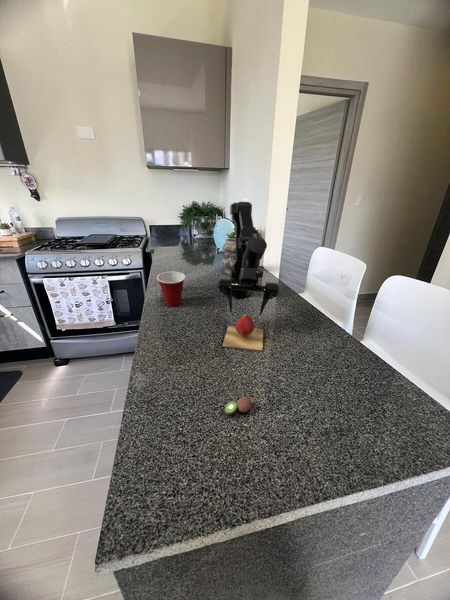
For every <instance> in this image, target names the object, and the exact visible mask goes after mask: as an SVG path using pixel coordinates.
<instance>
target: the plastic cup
mask: <svg viewBox="0 0 450 600" xmlns="http://www.w3.org/2000/svg"><path fill="white" fill-rule="evenodd" d="M185 280H186V275H185V274H184V273H182V272H180V271H164V272H161V273H159V274H157V276H156V281H158V283H159V286H160V290H161V293H162V296H163V299H164V303H165V305H166V306H167V307H171V308H172V307H179V306H180V305H181V302H182V296H183V295H182V294H183V288H184V282H185Z"/></svg>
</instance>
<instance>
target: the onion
mask: <svg viewBox="0 0 450 600" xmlns="http://www.w3.org/2000/svg"><path fill="white" fill-rule="evenodd" d="M235 326H236V327H235V328H236V331H237V332H238V333H239V334H240V335H242V336H243V337H246V336H248V335H249V334H251V333H252V332H253V330H254V328H255V324H254V321H253V320H252V318H251V317H250V316H248V314H243V315H242V316H240V317H239V318H238V319H237V320H236V322H235Z"/></svg>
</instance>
